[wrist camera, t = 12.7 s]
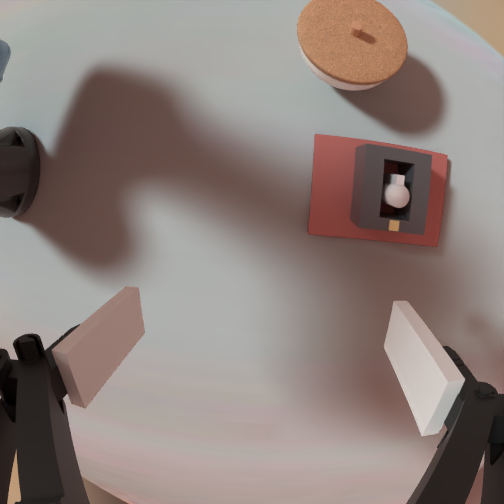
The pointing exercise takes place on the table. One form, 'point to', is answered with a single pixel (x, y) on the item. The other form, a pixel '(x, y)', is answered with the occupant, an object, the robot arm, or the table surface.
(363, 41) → the lidded jar
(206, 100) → the table surface
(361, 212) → the hollow frame block
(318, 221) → the plate
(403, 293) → the table surface
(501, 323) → the table surface
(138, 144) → the table surface
